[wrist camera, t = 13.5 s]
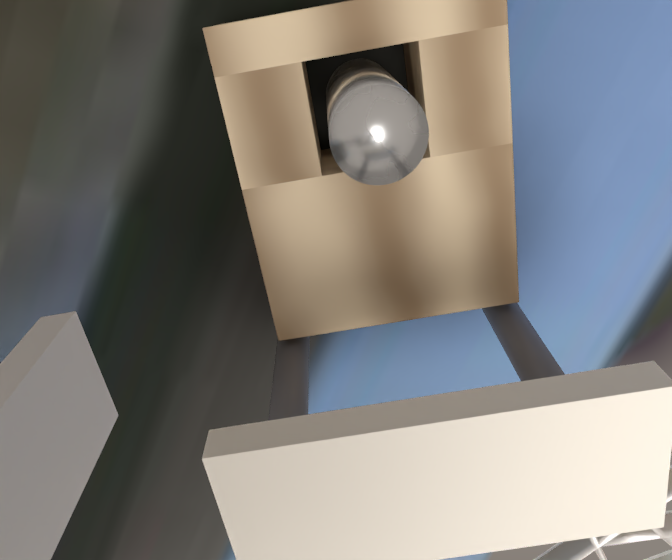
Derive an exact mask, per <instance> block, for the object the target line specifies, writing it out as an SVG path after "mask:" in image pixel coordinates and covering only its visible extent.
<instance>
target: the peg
mask: <svg viewBox="0 0 672 560" xmlns="http://www.w3.org/2000/svg"><path fill="white" fill-rule="evenodd" d="M326 106H327V119H328V132H329V143H330V149H331V152H332V155H333V158H334V159H335V161H336V163H337V164H338V166H339V167H340V169H341V170H342V171H343V172H344V173H345V174H347V175H348V176H349V177H351V178H352V179H354V180H356V181H358V182H361V183H364V184H368V185H387V184H391V183H394V182H396V181H399V180H401V179H403V178H404V177H406V176H407V175H409V174H410V173H411V172H412V171H413V170H414V169H415V168H416V167H417V166H418V164H419V163H420V161H421V160H422V158H423V156H424V154H425V151H426V149H427V145H428V139H429V127H428V121H427V118H426V115H425V113H424V111H423V109H422V107H421V106H420V104H419V103H418V102H417V100H416V99H415V98H414V97H413V96H412V95H411V94H410V93H409V92H408V91H407V90H406V89H405V88H404V87H403V86H402V85H401V84H400V83H399V82H398V81H397V80H396V79H395V78H394V77H393V76H392V75H391V74H390V73H388V72H387V71H386V70H385V69H384V68H383V67H382V66H381V65H380V64H378V63H377V62H375V61H372V60H369V59H364V58H358V59H352V60H349V61H347V62H345V63H343V64H341V65H340V66H339V67H338V68H337V69H336V70H335V71H334V72H333V73H332V75H331V77H330V78H329V81H328V83H327V87H326Z"/></svg>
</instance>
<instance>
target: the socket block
mask: <svg viewBox="0 0 672 560" xmlns="http://www.w3.org/2000/svg"><path fill="white" fill-rule="evenodd" d="M203 32H204V37H205V41H206V45H207V49H208V53H209V57H210V61H211V65H212V69H213V73H214V78H215V82H216V86H217V90H218V94H219V98H220V102H221V106H222V110H223V115H224V119H225V123H226V127H227V131H228V135H229V139H230V143H231V147H232V151H233V156H234V160H235V164H236V168H237V172H238V176H239V180H240V184H241V188H242V193H243V197H244V201H245V205H246V209H247V213H248V217H249V221H250V225H251V229H252V234H253V238H254V242H255V246H256V250H257V254H258V258H259V262H260V266H261V271H262V275H263V279H264V283H265V287H266V291H267V295H268V299H269V303H270V307H271V312H272V316H273V320H274V324H275V328H276V332H277V336H278V340H279V341H282V340H288V339H294V338H300V337H306V336H313V335H319V334H325V333H331V332H337V331H344V330H350V329H356V328H362V327H368V326H375V325H381V324H387V323H393V322H399V321H406V320H412V319H418V318H424V317H430V316H437V315H443V314H449V313H455V312H461V311H468V310H474V309H480V308H486V307H492V306H499V305H505V304H511V303H517V302H519V291H518V266H517V240H516V215H515V190H514V165H513V140H512V115H511V90H510V65H509V40H508V15H507V0H348V1H343V2H337V3H332V4H327V5H321V6H316V7H310V8H305V9H300V10H294V11H289V12H283V13H278V14H273V15H267V16H262V17H257V18H251V19H246V20H240V21H235V22H230V23H224V24H219V25H215V26H210V27H206V28H203ZM402 43H403V50H404V59H405V68H406V77H407V86H408V92H409V93H410V94H411V95H412V96H413V97H414V98H415V99H416V100H417V102H418V103H419V104H420V106H421V107H422V109H423V111H424V113H425V115H426V118H427V121H428V127H429V139H428V145H427V149H426V151H425V154H424V156H423V158H422V160H421V161H420V163H419V164H418V166H417V167H416V168H415V169H414V170H413V171H412V172H411V173H410V174H409V175H407V176H406V177H404V178H403V179H401V180H399V181H396V182H394V183H391V184H387V185H368V184H364V183H361V182H358V181H356V180H354V179H352V178H351V177H349V176H348V175H347V174H345V173H344V172H343V171H342V170H341V169H340V167H339V166H338V164H337V163H336V161H335V159H334V158H333V155H332V152H331V149H330V148H329V149H323V150H321V147H320V141H319V135H318V130H317V124H316V119H315V113H314V107H313V102H312V96H311V91H310V85H309V80H308V74H307V68H306V63H305V61H309V60H314V59H320V58H325V57H331V56H336V55H342V54H347V53H353V52H358V51H364V50H369V49H375V48H380V47H386V46H391V45H397V44H402Z"/></svg>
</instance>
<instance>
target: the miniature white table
mask: <svg viewBox="0 0 672 560" xmlns="http://www.w3.org/2000/svg"><path fill="white" fill-rule="evenodd" d="M482 310H483V312H484V313H485V315H486V317H487V319H488V321H489V323H490V324H491V326H492V328H493V330H494V332H495V334H496V335H497V337H498V339H499V341H500V343H501V345H502V347H503V348H504V350H505V352H506V354H507V356H508V358H509V359H510V361H511V363H512V365H513V367H514V369H515V371H516V372H517V374H518V376H519V378H520V380H521V382H514V383H508V384H501V385H495V386H488V387H482V388H476V389H469V390H463V391H456V392H450V393H443V394H437V395H430V396H424V397H418V398H411V399H405V400H398V401H392V402H385V403H379V404H373V405H366V406H360V407H353V408H347V409H340V410H334V411H328V412H321V413H315V414H308V388H309V338H310V336H306V337H300V338H294V339H288V340H282V341H279V340H277V349H276V358H275V367H274V375H273V384H272V393H271V401H270V410H269V419H268V421H263V422H257V423H250V424H244V425H237V426H231V427H225V428H218V429H212V430H209V432H208V436H207V440H206V444H205V448H204V452H203V456H202V461H203V464H204V466H205V469H206V472H207V475H208V478H209V481H210V484H211V487H212V490H213V493H214V496H215V499H216V501H217V504H218V507H219V510H220V513H221V516H222V519H223V522H224V525H225V528H226V531H227V534H228V537H229V539H230V542H231V545H232V548H233V551H234V554H235V557H236V560H439V559H446V558H453V557H460V556H467V555H474V554H481V553H488V552H495V551H502V550H508V549H516V548H522V547H529V546H536V545H543V544H550V543H557V542H564V541H571V540H578V539H585V538H592V537H599V536H606V535H613V534H620V533H627V532H634V531H641V530H648V529H655V528H662V527H664V520H665V509H666V500H667V489H668V479H669V468H670V457H671V447H672V380H671V378H670V377H669V376H668V375H667V374H666V373H665V372H664V371H663V370H662V369H661V368H660V367H659V366H658V365H657V364H656V363H655V362H654V361H649V362H643V363H636V364H630V365H624V366H617V367H611V368H604V369H598V370H591V371H585V372H578V373H572V374H566V375H565V374H564V373H563V371H562V370H561V368H560V367H559V365H558V364H557V362H556V361H555V359H554V358H553V356H552V355H551V353H550V352H549V350H548V349H547V347H546V346H545V344H544V343H543V341H542V340H541V338H540V337H539V335H538V334H537V332H536V331H535V329H534V328H533V326H532V325H531V323H530V322H529V320H528V319H527V317H526V316H525V314H524V313H523V311H522V310H521V308H520V307H519V305H518V304H517V303H511V304H505V305H499V306H492V307H486V308H482Z"/></svg>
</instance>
